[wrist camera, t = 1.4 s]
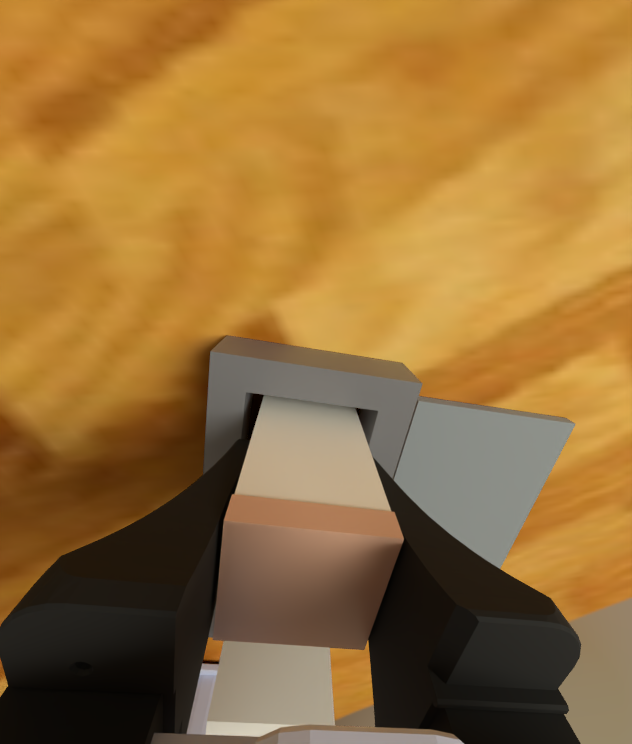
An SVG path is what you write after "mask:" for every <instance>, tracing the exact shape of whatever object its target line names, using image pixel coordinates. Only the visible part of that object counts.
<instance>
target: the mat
mask: <svg viewBox="0 0 632 744" xmlns="http://www.w3.org/2000/svg"><path fill="white" fill-rule="evenodd" d="M574 426H575V423H573V422H572V421H570V420H568V419H567V418H563V417H556V416H549V415H543V414H536V413H529V412H522V411H516V410H509V409H502V408H495V407H489V406H482V405H475V404H468V403H462V402H455V401H448V400H441V399H435V398H428V397H421V396H418V399H417V402H416V406H415V409H414V412H413V415H412V418H411V422H410V425H409V428H408V431H407V434H406V437H405V441H404V444H403V447H402V450H401V453H400V457H399V460H398V463H397V466H396V469H395V472H394V476H393V480H394V481H395V482H396V483H397V485H398V486H399V487H400V488H401V489H402V490H403V491H404V492H405V493H406V494H407V495H408V496H409V497H410V498H411V499H412V500H413V501H414V502H415V503H416V504H417V505H418V506H419V507H420V508H421V509H422V510H423V511H424V512H425V513H426V514H427V515H428V516H429V517H430V518H432V519H433V520H434V521H435V522H436V523H437V524H439V525H440V526H441V527H442V528H443V529H445V530H446V531H447V532H448V533H449V534H451V535H452V536H453V537H455V538H456V539H457V540H459V541H460V542H461V543H463V544H464V545H465V546H467V547H468V548H469V549H471V550H472V551H473V552H475V553H476V554H478V555H479V556H481V557H482V558H484V559H485V560H487V561H488V562H490V563H491V564H493V565H494V566H496V567H498V568H499V569H500V568H501V566H502V564H503V562H504V560H505V558H506V556H507V554H508V552H509V551H510V549H511V547H512V545H513V543H514V541H515V539H516V537H517V535H518V533H519V531H520V529H521V528H522V526H523V524H524V522H525V520H526V518H527V516H528V514H529V512H530V510H531V508H532V506H533V505H534V503H535V501H536V499H537V497H538V495H539V493H540V491H541V489H542V487H543V485H544V483H545V482H546V480H547V478H548V476H549V474H550V472H551V470H552V468H553V466H554V464H555V462H556V460H557V459H558V457H559V455H560V453H561V451H562V449H563V447H564V445H565V443H566V441H567V439H568V438H569V436H570V434H571V432H572V430H573V428H574Z"/></svg>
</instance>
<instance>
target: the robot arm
mask: <svg viewBox="0 0 632 744" xmlns="http://www.w3.org/2000/svg"><path fill="white" fill-rule="evenodd" d="M249 444H250V440H245V439H238V440H237V441H236V442H235V443H234V444H233V445H232V447H231V448H230V449H229V450H228V451H227V452H226V453H225V454H224V455H223V456H222V457H221V459H219V460H218V461H217V462H216V463H215V464H214V465H213V466H212V467H211V468H210V469H209V470H208V471H207V472H206V473H205V474H204V475H202V476H201V477H200V478H199V479H198V480H197V481H195V482H194V483H193V484H192V485H191V486H189V487H188V488H187V489H186V490H184V491H183V492H182V493H180V494H179V495H177V496H176V497H175V498H173V499H172V500H170V501H169V502H167V503H166V504H164V505H163V506H161V507H160V508H158V509H157V510H155V511H153V512H152V513H150V514H148V515H147V516H145V517H143V518H142V519H140V520H138V521H136V522H134V523H132V524H131V525H129V526H127V527H125V528H123V529H121V530H119V531H117V532H115V533H113V534H111V535H109V536H107V537H104V538H102V539H100V540H98V541H95V542H93V543H91V544H88V545H86V546H84V547H81V548H79V549H77V550H75V551H72V552H70V553H67V554H65V555H62V556H61V557H60V558H59V559H58V560H57V561H56V562H55V563H54V564H53V565H52V566H51V567H50V568H49V569H48V570H47V571H46V572H45V573H44V574H43V575H42V576H41V577H40V578H39V580H38V581H37V582H36V583H35V584H34V585H33V586H32V588H31V589H30V590H29V591H28V592H27V594H26V595H25V596H24V597H23V598H22V600H21V601H20V602H19V603H18V605H17V606H16V607H15V608H14V609H13V611H12V612H11V613H10V614H9V615H8V617H7V618H6V619H5V620H4V621H3V623H2V624H1V627H0V658H1V661H2V665H3V668H4V672H5V675H6V679H7V682H8V687H7V688H6V690H5V691H4V693H3V694H2V695H1V697H0V744H580V742H579V740H578V738H577V737H576V735H575V733H574V732H573V730H572V728H571V726H570V724H569V723H568V721H567V720H566V717H565V716H564V714H567V713H568V711H569V709H568V705H567V703H566V701H565V700H564V698H563V696H562V695H561V693H560V691H559V690H558V688H559V686H560V685H561V684H562V682H563V681H564V680H565V678H566V677H567V676H568V674H569V673H570V672H571V670H572V669H573V668H574V666H575V665H576V663H577V661H578V659H579V657H580V649H581V643H580V640H579V637H578V635H577V634H576V632H575V631H574V630H573V628H572V627H571V626H570V624H569V623H568V621H567V620H566V619H565V617H564V616H563V615H562V613H561V612H560V610H559V609H558V608H557V606H556V605H555V604H554V602H553V601H552V600H551V598H549V597H547V596H546V595H544V594H542V593H540V592H538V591H537V590H535V589H533V588H531V587H530V586H528V585H526V584H524V583H523V582H521V581H519V580H517V579H515V578H514V577H512V576H510V575H509V574H507V573H505V572H504V571H502V570H501V569H499V568H498V567H496V566H494V565H493V564H491V563H490V562H488V561H487V560H485V559H484V558H482V557H481V556H479V555H478V554H476V553H475V552H473V551H472V550H471V549H469V548H468V547H467V546H465V545H464V544H463V543H461V542H460V541H459V540H457V539H456V538H455V537H453V536H452V535H451V534H449V533H448V532H447V531H446V530H445V529H443V528H442V527H441V526H440V525H439V524H437V523H436V522H435V521H434V520H433V519H432V518H430V517H429V516H428V515H427V514H426V513H425V512H424V511H423V510H422V509H421V508H420V507H419V506H418V505H417V504H416V503H415V502H414V501H413V500H412V499H411V498H410V497H409V496H408V495H407V494H406V493H405V492H404V491H403V490H402V489H401V488H400V487H399V486H398V485H397V483H396V482H395V481H394V480H393V479H392V478H391V477H390V475H389V474H388V473H387V472H386V471H385V470H384V469H383V467H382V466H381V465H380V464H379V463H378V462H377V461H376V459H375V458H374V457H373V456H372V457H373V460H374V463H375V466H376V469H377V472H378V474H379V477H380V480H381V483H382V486H383V489H384V492H385V495H386V497H387V500H388V503H389V506H390V509H391V512H395V515H396V518H397V521H398V523H399V526H400V529H401V532H402V535H403V537H404V540H403V543H402V546H401V549H400V552H399V554H398V557H397V560H396V563H395V566H394V568H393V571H392V574H391V577H390V579H389V582H388V585H387V588H386V591H385V593H384V596H383V599H382V602H381V604H380V607H379V610H378V613H377V616H376V618H375V621H374V624H373V627H372V630H371V632H370V635H369V638H368V641H369V651H370V662H371V675H372V687H373V699H374V712H375V713H374V714H375V727H359V726H358V727H357V726H335V725H311V724H308V725H298V726H288V727H281V728H278V729H276V730H274V731H272V732H269V733H267V734H265V735H263V736H260V737H254V736H227V735H206V725H207V718H208V714H209V709H210V704H211V699H212V695H213V690H214V685H215V680H216V676H217V671H218V666H219V664H206V663H202V662H203V658H204V653H205V649H206V644H207V640H208V636H209V631H210V627H211V623H212V619H213V614H214V610H215V606H216V600H217V589H218V578H219V567H220V557H221V546H222V535H223V524H224V518H225V515H226V512H227V509H228V505H229V502H230V499H231V496H232V494H235V491H236V487H237V484H238V481H239V477H240V474H241V470H242V467H243V464H244V460H245V457H246V454H247V450H248V447H249Z"/></svg>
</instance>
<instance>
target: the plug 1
mask: <svg viewBox="0 0 632 744" xmlns="http://www.w3.org/2000/svg"><path fill="white" fill-rule="evenodd" d="M403 540H404V537H403V535H402V532H401V529H400V526H399V523H398V521H397V518H396V515H395V512H391V509H390V506H389V503H388V500H387V497H386V495H385V492H384V489H383V486H382V483H381V480H380V477H379V474H378V472H377V469H376V466H375V463H374V460H373V457H372V454H371V451H370V449H369V446H368V443H367V440H366V437H365V434H364V431H363V428H362V426H361V423H360V420H359V417H358V414H357V411H356V408H354V407H347V406H340V405H333V404H326V403H319V402H312V401H305V400H298V399H291V398H283V397H276V396H269V395H264V397H263V400H262V403H261V407H260V410H259V413H258V417H257V420H256V423H255V427H254V430H253V434H252V437H251V440H250V444H249V447H248V450H247V454H246V457H245V460H244V464H243V467H242V470H241V474H240V477H239V481H238V484H237V487H236V491H235V494H232V496H231V499H230V502H229V505H228V509H227V512H226V515H225V518H224V524H223V535H222V546H221V557H220V567H219V578H218V589H217V600H216V611H215V622H214V633H213V640H221V641H236V642H252V643H267V644H282V645H298V646H313V647H328V648H343V649H359V650H364V649H365V646H366V643H367V641H368V638H369V635H370V632H371V630H372V627H373V624H374V621H375V618H376V616H377V613H378V610H379V607H380V604H381V602H382V599H383V596H384V593H385V591H386V588H387V585H388V582H389V579H390V577H391V574H392V571H393V568H394V566H395V563H396V560H397V557H398V554H399V552H400V549H401V546H402V543H403Z"/></svg>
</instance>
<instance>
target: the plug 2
mask: <svg viewBox="0 0 632 744" xmlns="http://www.w3.org/2000/svg"><path fill="white" fill-rule="evenodd" d="M308 724H311V725H335V722H334V707H333V692H332V677H331V661H330V648H328V647H313V646H298V645H282V644H267V643H252V642H236V641H224V643H223V647H222V652H221V657H220V662H219V666H218V671H217V676H216V680H215V685H214V690H213V695H212V699H211V704H210V709H209V714H208V718H207V725H206V735H227V736H254V737H260V736H263V735H265V734H267V733H269V732H272V731H274V730H276V729H278V728H281V727H288V726H298V725H308Z"/></svg>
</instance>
